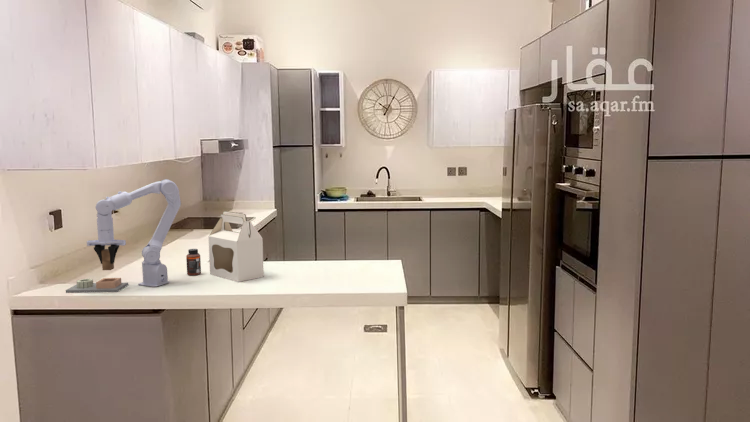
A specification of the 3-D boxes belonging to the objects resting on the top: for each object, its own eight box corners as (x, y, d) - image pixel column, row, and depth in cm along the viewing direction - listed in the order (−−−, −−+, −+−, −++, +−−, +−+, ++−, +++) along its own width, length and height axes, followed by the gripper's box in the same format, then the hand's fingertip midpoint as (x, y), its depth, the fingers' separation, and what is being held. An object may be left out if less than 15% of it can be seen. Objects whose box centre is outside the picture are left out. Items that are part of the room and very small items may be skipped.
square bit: (114, 268, 231) (112, 248, 230) (110, 270, 227) (109, 250, 226) (106, 268, 230) (104, 249, 229) (102, 270, 227) (101, 250, 226)
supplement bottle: (202, 274, 252) (201, 249, 251) (188, 276, 249) (187, 251, 248) (199, 272, 257) (198, 247, 256) (185, 273, 254) (184, 248, 253)
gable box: (209, 274, 253) (206, 212, 250) (234, 269, 263) (232, 209, 260) (238, 282, 239) (236, 216, 235) (264, 276, 248) (262, 213, 245)
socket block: (128, 284, 235) (127, 276, 235) (117, 291, 224) (117, 283, 224) (79, 285, 234) (78, 277, 234) (65, 292, 224) (65, 283, 223)
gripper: (82, 231, 222) (84, 265, 224) (119, 231, 223) (121, 265, 225) (90, 228, 229) (92, 261, 231) (127, 228, 230) (128, 261, 232)
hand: (107, 263), depth 228 cm, fingers closed on square bit, 3 cm apart
